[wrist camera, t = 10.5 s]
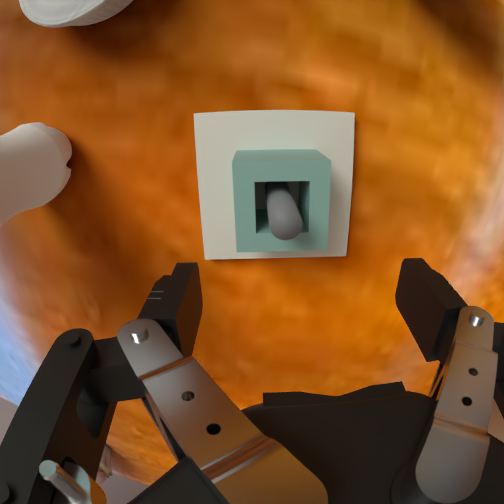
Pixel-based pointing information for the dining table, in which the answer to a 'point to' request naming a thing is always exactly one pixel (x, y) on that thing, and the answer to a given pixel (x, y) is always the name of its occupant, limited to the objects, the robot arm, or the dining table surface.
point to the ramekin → (71, 11)
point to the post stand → (275, 192)
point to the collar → (281, 169)
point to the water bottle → (32, 167)
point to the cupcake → (104, 466)
